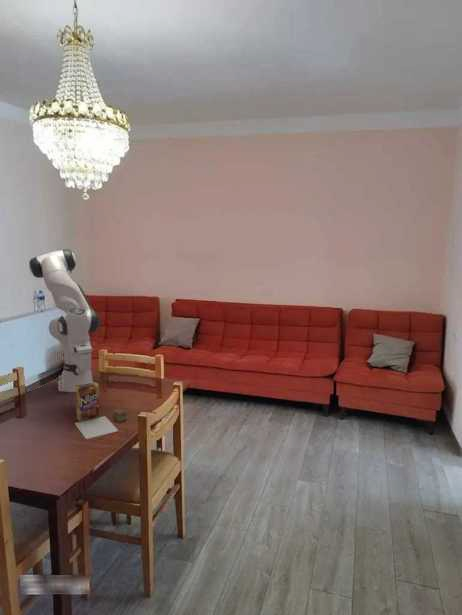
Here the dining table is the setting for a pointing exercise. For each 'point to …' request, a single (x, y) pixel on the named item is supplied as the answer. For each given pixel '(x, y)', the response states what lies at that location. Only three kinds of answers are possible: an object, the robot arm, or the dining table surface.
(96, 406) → the candy box
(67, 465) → the dining table surface
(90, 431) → the mat
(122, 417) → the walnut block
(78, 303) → the robot arm
